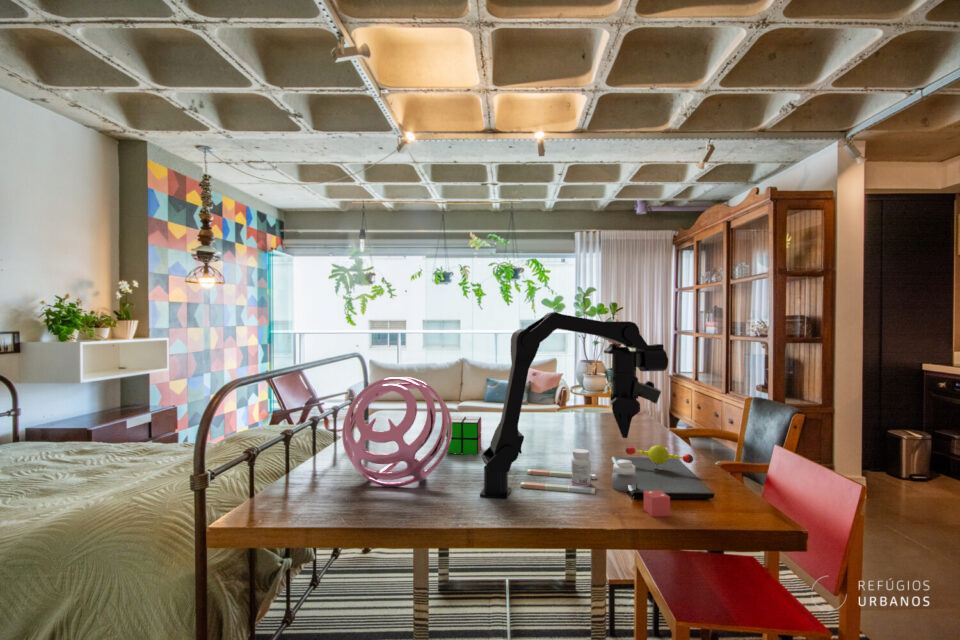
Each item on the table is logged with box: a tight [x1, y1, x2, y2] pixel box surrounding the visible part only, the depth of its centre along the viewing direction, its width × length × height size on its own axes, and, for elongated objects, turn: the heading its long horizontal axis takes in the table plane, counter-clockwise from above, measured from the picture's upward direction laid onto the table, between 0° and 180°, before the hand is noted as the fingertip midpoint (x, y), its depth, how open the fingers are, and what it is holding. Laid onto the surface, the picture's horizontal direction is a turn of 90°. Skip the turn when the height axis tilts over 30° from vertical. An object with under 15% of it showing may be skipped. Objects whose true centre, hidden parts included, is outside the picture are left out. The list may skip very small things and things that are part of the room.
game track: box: [519, 468, 638, 495], centre depth 124 cm, size 13×28×3 cm, turn 76°
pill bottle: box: [571, 448, 592, 487], centre depth 123 cm, size 5×5×8 cm
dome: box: [612, 459, 636, 475], centre depth 121 cm, size 5×5×2 cm
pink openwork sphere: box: [341, 376, 452, 488], centre depth 127 cm, size 28×28×27 cm
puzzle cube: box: [445, 415, 482, 455], centre depth 156 cm, size 10×10×10 cm
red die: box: [643, 490, 671, 518], centre depth 105 cm, size 4×4×4 cm
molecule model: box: [625, 444, 694, 465], centre depth 136 cm, size 18×6×7 cm, turn 58°
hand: (624, 434), depth 121 cm, fingers open, 7 cm apart
